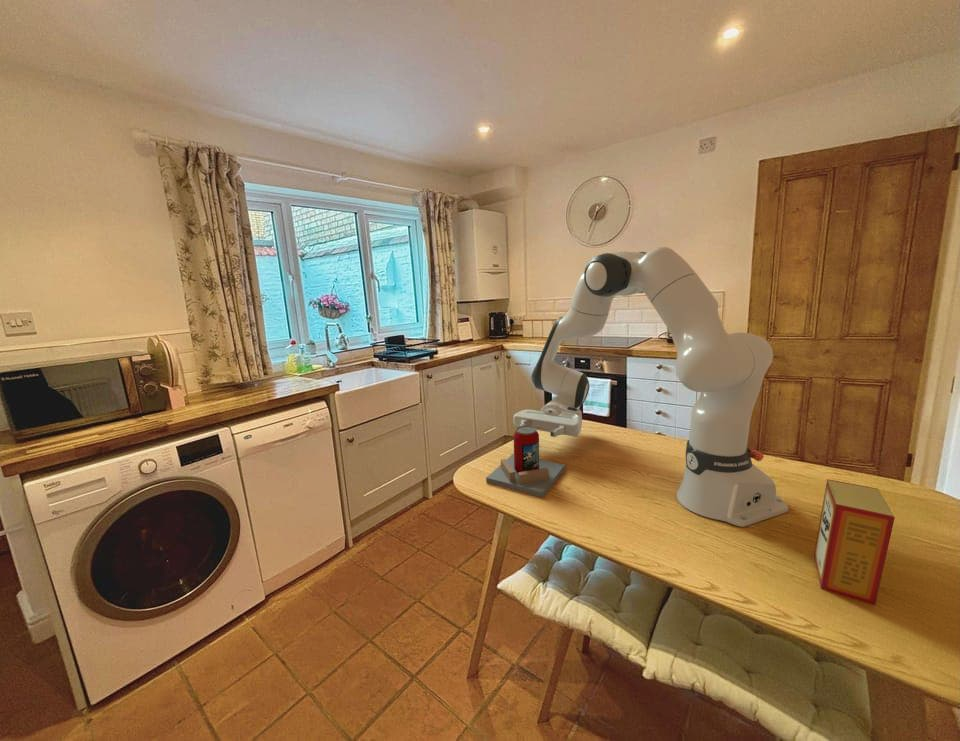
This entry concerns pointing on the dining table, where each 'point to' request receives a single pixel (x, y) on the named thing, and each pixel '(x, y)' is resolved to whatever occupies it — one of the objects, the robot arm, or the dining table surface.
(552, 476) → the v stop plate
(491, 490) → the dining table surface
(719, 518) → the robot arm
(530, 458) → the beverage can
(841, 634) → the dining table surface
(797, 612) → the dining table surface
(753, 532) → the dining table surface
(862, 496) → the baking soda box
